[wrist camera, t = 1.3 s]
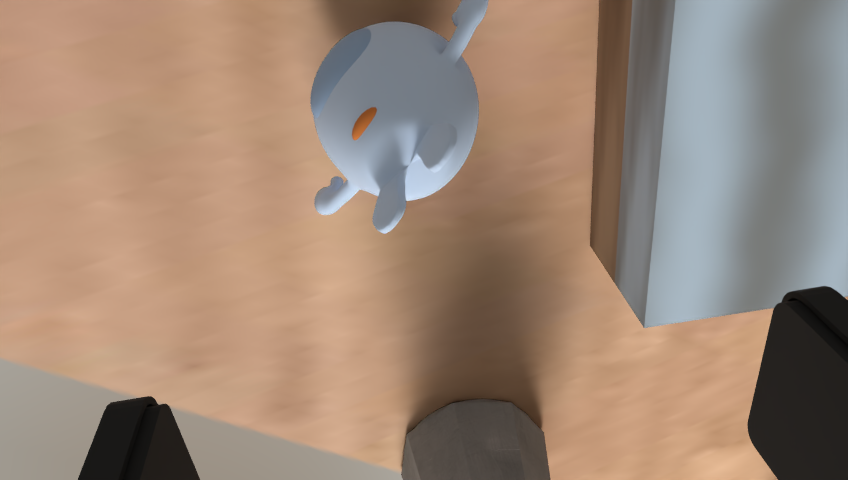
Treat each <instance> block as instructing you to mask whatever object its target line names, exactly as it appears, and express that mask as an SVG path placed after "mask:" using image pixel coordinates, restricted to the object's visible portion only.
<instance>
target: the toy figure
mask: <svg viewBox="0 0 848 480" xmlns="http://www.w3.org/2000/svg"><path fill="white" fill-rule="evenodd" d="M487 6H488V0H462V1H461V3H460V5H459V6H458V8H457V11H456V12H455V13H454V14H453V15H452V21H453V23H454V24H455V25H456V26H457V28H456V30H455V32H454V34H453V36H452V38H451V39H450V41H449V42H448V41H447V40H446V39H445V38H443V37H442V36H440V35H439V34H437V33H435V32H434V31H432V30H430V29H428V28H425V27H423V26H420V25H416V24H412V23H407V22H383V23H377V24H373V25H370V26H367V27H364V28H362V29H358V30H356V31H353V32H351V33H350V34H348V35H346V36H345V37H344V38H342V39H341V40H340V41H339V42H338V43H337V44H336V45H335V46H334V47H333V48H332V49H331V50H330V52H329V53H328V55H327V56H326V57H325V59H324V61H323V62H322V64H321V66H320V68H319V70H318V72H317V74H316V77H315V79H314V83H313V86H312V91H311V109H312V112H313V115H314V122H315V127H316V130H317V134H318V136H319V139H320V141H321V144H322V146H323V148H324V150H325V151H326V153H327V155H328V156H329V158H330V159H331V161H332V162H333V163H334V164H335V166H336V167H337V168H338V169H339V170H340V171H341V172H342V174H343V175H344V176H345V177H346V178H347V181H346V182H345V183H344V184H343V180H342V178H340V177H333V178H332V179H331V185H330V186H328V187H324V188H322V189H320V190H319V191H318V193H317V194H316V197H315V208H316V210H317V212H318V213H320V214H322V215H329V214H333V213H335V212H336V211H337V210H339V208H340V207H341V206H343V205H344V204H345V203H346V202H347V201H349V200H350V199H351V198H352V197H353V196H354V195H355V194H356V193H357V192H358V191H359V190H364V191H367V192H369V193H371V194H374V195H376V196H378V199H377V203H376V206H375V210H374V214H373V224H374V226H375V228H376V229H377V230H378V231H380V232H381V233H384V234H386V233H388V232H389V231H391V230H392V229H393V228H394V227H395V226H396V224H397V223H398V222H399V221H400V219H401V218H402V216H403V214H404V211H405V208H406V201H411V200H417V199H421V198H424V197H427V196H429V195H431V194H433V193H435V192H436V191H438V190H439V189H441V188H442V187H444V186H445V185H446V184H447V183H448V182H449V181H450V180H451V179H452V178H453V177H454V176H455V175H456V174H457V172H458V171H459V170H460V168H461V167H462V165H463V164H464V162H465V160H466V159H467V157H468V155H469V152H470V150H471V148H472V145H473V142H474V139H475V135H476V131H477V125H478V117H479V103H478V94H477V89H476V85H475V82H474V78H473V76H472V73H471V71H470V69H469V67H468V65H467V63H466V62H465V60H464V59H463V57H462V56H461V54H462V53H463V51H464V49H465V47H466V46H467V44H468V42H469V40H470V38H471V37H472V35H473V33H474V31H475V29H476V27H477V26H478V24H479V23H480V22H481V21H482V19H483V18H484V16H485V13H486V10H487Z"/></svg>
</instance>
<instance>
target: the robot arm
mask: <svg viewBox="0 0 848 480" xmlns="http://www.w3.org/2000/svg"><path fill="white" fill-rule="evenodd" d="M748 433H749V436H750V439H751V441H752V443H753V445H754V447H755V448H756V450H757V451H758V452H759V454H760V455H761V456H762V458H763V459H764V461H765V462H766V463H767V465H768V466H769V468H770V469H771V470H772V472H773V473H774V474H775V476H776V477H777V479H778V480H848V300H847V299H846V298H844V297H843V296H842V295H841V294H840V293H839V292H837V291H836V290H835V289H833V288H831V287H828V286H821V287H815V288H808V289H802V290H796V291H791V292H788V293H787V294H786V295H785V296H784V297H783V300H782V302H781V303H778V304H777V305H776V306H775V308H774V310H773V314H772V319H771V323H770V327H769V332H768V336H767V340H766V345H765V349H764V353H763V358H762V362H761V367H760V371H759V375H758V380H757V384H756V388H755V393H754V397H753V401H752V406H751V410H750V415H749V419H748ZM78 480H200V478H199V476H198V474H197V471H196V469H195V466H194V464H193V461H192V459H191V457H190V454H189V452H188V450H187V447H186V445H185V443H184V440H183V438H182V435H181V433H180V430H179V428H178V426H177V423H176V421H175V418H174V416H173V414H172V411H171V409H170V407H169V406H168V405H167V404H161V405H158V404H157V402H156V400H155V399H154V398H153V397H149V396H148V397H142V398H136V399H130V400H124V401H117V402H112V403H110V404H109V405H107V407H106V409H105V411H104V413H103V416H102V418H101V421H100V424H99V426H98V429H97V431H96V434H95V436H94V439H93V442H92V444H91V447H90V449H89V452H88V455H87V457H86V460H85V463H84V465H83V468H82V470H81V473H80V475H79V478H78Z"/></svg>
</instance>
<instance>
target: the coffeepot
mask: <svg viewBox="0 0 848 480" xmlns="http://www.w3.org/2000/svg"><path fill="white" fill-rule="evenodd" d="M401 475H402V478H403V480H550V473H549V466H548V459H547V452H546V445H545V438H544V432H543V431H542V430H541V429H540V428H539V427H538V426H537V425H536V424H535V423H534V422H533V421H532V420H531V419H530V418H529V416H528V415H527V414H526V413H524V412H523V411H522V410H520V409H519V408H517V407H516V406H515V405H514V404H513V403H511V402H505V401H498V400H488V399H475V400H466V401H461V402H457V403H452V404H449V405H447V406H445V407H442V408H440V409H439V410H437V411H435V412H433V413H431V414H430V415H428V416H427V417H426V418H425V419H423V420H422V421H421V422H420V423H419V424H418V425H417V426H416V427H415V428H414V429H413V430H412V431H411V432H409V433H408V434H407V436H406V444H405V448H404V459H403V466H402V474H401Z"/></svg>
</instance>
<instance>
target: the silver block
mask: <svg viewBox="0 0 848 480" xmlns="http://www.w3.org/2000/svg"><path fill="white" fill-rule="evenodd" d="M590 246H591V248H592V249H593V251H594V252H595V254H596V255H597V257H598V258H599V260H600V261H601V263H602V264H603V266H604V267H605V269H606V270H607V272H608V274H609V275H610V277H611V278H612V280H613V281H614V283H615V284H616V286H617V287H618V289H619V290H620V292H621V293H622V295H623V296H624V298H625V299H626V301H627V302H628V304H629V306H630V307H631V309H632V310H633V312H634V313H635V315H636V316H637V318H638V319H639V321H640V322H641V324H642V325H643V327H644V328H647V327H654V326H660V325H666V324H673V323H679V322H686V321H692V320H699V319H705V318H711V317H718V316H724V315H731V314H737V313H744V312H750V311H756V310H763V309H769V308H775V306H776V305H777V304H778V303H781V302H782V300H783V297H784V296H785V295H786V294H787V293H788V292H791V291H796V290H802V289H808V288H815V287H821V286H828V287H831V288H833V289H835V290H836V291H837V292H839V293H840V294H841V295H842V296H843V297H846V296H848V0H600V5H599V31H598V56H597V82H596V108H595V134H594V160H593V186H592V212H591V238H590Z"/></svg>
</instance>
